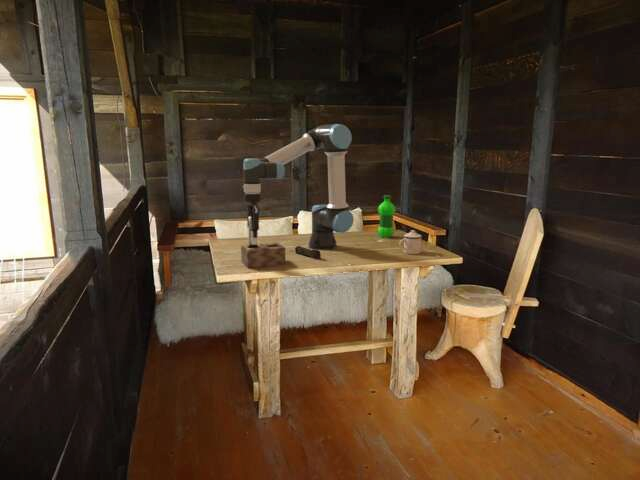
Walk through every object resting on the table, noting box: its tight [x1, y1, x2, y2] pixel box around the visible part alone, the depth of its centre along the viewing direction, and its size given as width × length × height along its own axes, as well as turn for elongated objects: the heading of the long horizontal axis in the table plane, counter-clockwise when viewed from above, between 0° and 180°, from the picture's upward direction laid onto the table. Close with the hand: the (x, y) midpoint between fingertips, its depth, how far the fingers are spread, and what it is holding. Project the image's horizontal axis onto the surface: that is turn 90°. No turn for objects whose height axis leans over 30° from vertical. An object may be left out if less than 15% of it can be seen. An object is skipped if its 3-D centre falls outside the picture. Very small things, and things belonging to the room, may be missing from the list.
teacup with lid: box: [399, 229, 423, 255], centre depth 248 cm, size 12×9×12 cm
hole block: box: [240, 242, 286, 269], centre depth 225 cm, size 18×12×8 cm, turn 112°
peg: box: [248, 216, 259, 248], centre depth 221 cm, size 4×4×16 cm
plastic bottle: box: [377, 194, 396, 238], centre depth 286 cm, size 10×10×25 cm
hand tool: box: [294, 245, 322, 260], centre depth 239 cm, size 19×4×5 cm, turn 35°
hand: (253, 243), depth 222 cm, fingers closed on peg, 4 cm apart
